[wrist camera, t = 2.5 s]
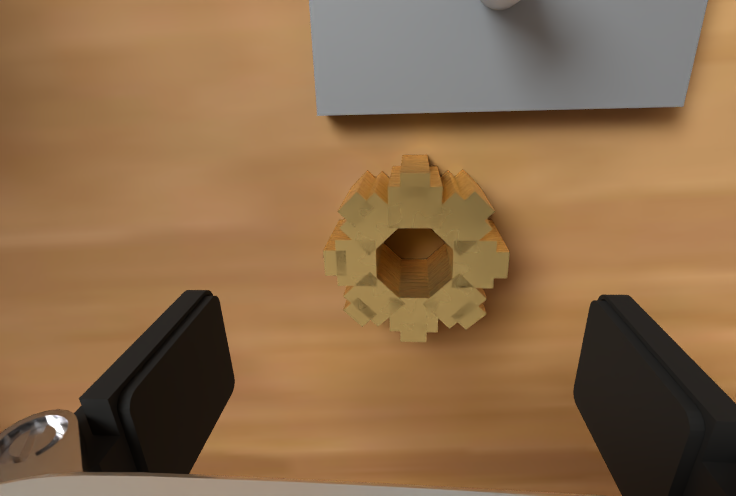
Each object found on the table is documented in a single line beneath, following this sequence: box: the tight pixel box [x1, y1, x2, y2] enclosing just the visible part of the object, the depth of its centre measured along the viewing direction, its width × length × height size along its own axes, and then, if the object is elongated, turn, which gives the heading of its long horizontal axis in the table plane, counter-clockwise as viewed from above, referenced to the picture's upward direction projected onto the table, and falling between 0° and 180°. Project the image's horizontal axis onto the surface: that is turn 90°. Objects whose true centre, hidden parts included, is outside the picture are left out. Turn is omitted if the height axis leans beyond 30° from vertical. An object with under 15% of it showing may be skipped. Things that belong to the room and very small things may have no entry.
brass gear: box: [323, 155, 510, 342], centre depth 19 cm, size 7×7×4 cm
